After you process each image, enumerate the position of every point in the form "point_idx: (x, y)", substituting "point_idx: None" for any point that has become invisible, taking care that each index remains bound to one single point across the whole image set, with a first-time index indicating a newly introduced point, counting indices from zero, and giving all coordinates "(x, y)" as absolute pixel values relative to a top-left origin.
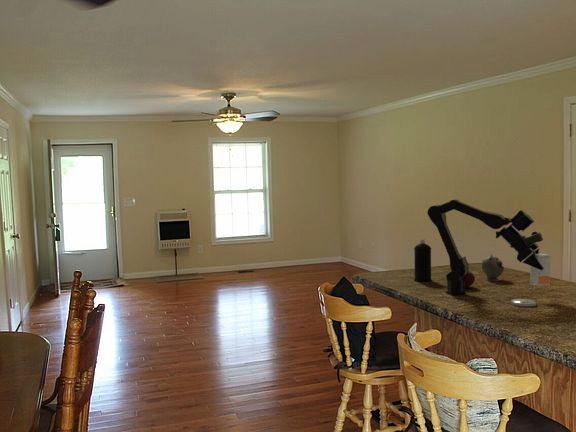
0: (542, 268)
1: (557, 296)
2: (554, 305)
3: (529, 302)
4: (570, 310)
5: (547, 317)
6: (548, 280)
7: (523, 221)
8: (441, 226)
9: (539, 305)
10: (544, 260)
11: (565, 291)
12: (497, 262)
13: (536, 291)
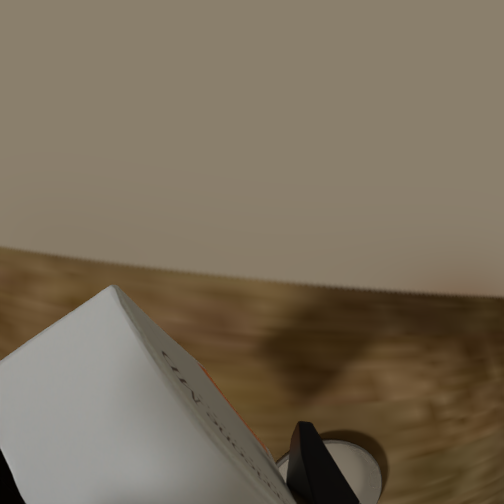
0: (314, 435)
1: None
2: (305, 355)
3: (346, 467)
4: (380, 293)
5: (496, 369)
6: (205, 371)
7: None
8: None
9: (325, 423)
10: (222, 418)
11: (15, 269)
12: None
13: None
